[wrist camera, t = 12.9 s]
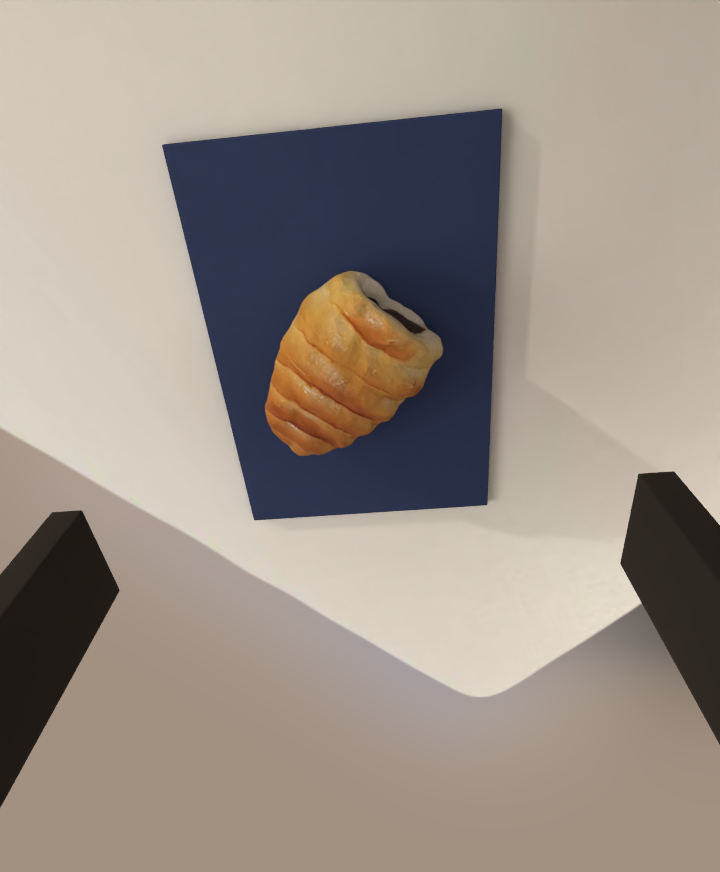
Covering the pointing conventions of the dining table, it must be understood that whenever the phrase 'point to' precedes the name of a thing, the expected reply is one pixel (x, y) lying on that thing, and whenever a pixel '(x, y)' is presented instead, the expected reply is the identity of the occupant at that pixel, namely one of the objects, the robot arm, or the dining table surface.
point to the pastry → (346, 365)
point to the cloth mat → (362, 252)
